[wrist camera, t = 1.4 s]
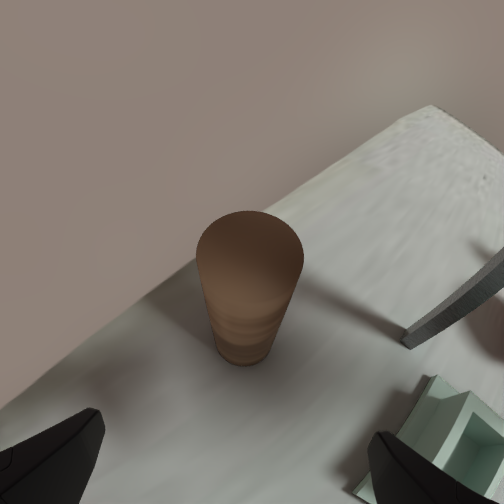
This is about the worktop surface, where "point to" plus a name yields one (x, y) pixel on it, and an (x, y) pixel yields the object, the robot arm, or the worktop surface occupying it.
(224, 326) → the peg
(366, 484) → the socket block
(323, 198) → the worktop surface
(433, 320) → the grey table frame
